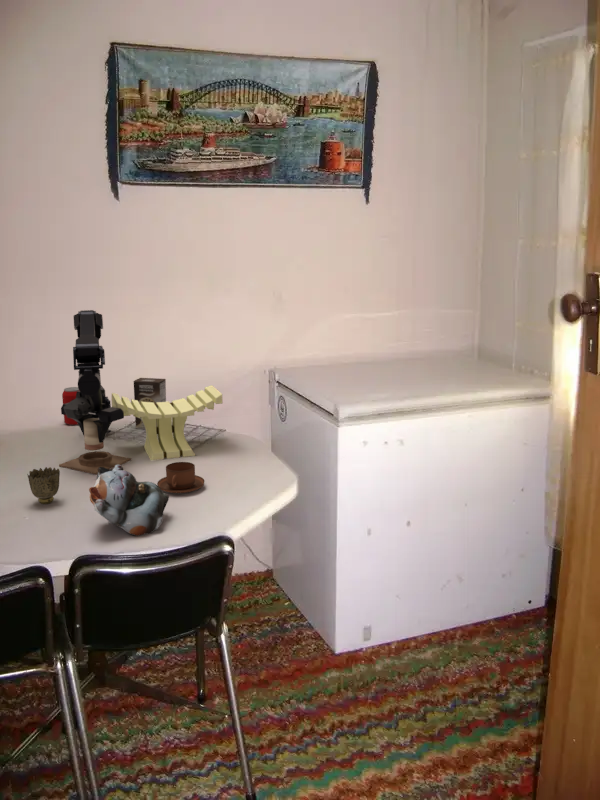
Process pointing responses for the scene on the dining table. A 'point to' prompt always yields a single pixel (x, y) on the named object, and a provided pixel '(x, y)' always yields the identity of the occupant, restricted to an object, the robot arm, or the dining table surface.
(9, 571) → the dining table surface
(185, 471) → the cup and saucer
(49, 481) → the cup
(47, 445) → the dining table surface
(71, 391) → the beverage can
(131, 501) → the lucky cat figurine
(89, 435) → the beige rounded peg
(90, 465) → the walnut socket
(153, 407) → the slatted curved stool
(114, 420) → the robot arm
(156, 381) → the coffee box
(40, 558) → the dining table surface
